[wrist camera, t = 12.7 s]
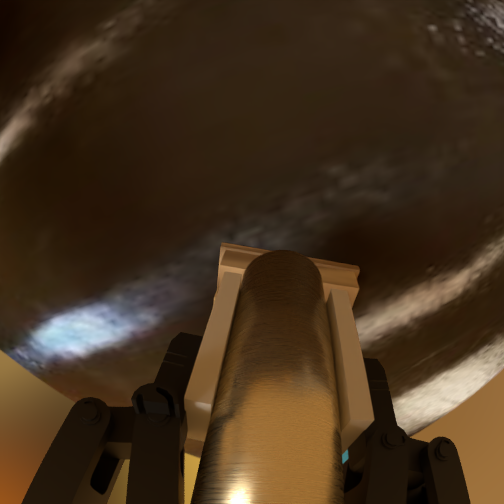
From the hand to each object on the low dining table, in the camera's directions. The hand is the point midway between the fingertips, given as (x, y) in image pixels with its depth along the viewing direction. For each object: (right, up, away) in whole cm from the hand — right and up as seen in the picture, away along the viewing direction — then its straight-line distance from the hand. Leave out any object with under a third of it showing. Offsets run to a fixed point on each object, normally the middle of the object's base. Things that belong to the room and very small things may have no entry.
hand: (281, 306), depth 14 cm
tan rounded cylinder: (0, +1, +1) cm, 2 cm away
